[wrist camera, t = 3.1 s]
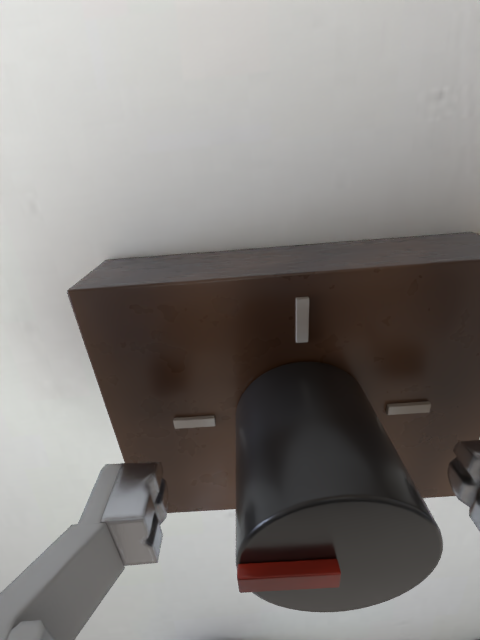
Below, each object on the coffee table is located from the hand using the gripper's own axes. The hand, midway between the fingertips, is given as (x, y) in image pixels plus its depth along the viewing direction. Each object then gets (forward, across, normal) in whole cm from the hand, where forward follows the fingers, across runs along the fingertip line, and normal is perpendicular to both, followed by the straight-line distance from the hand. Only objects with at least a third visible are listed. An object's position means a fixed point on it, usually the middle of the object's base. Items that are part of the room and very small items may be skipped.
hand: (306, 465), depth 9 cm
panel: (+5, 0, 0) cm, 5 cm away
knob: (+2, 0, 0) cm, 2 cm away
